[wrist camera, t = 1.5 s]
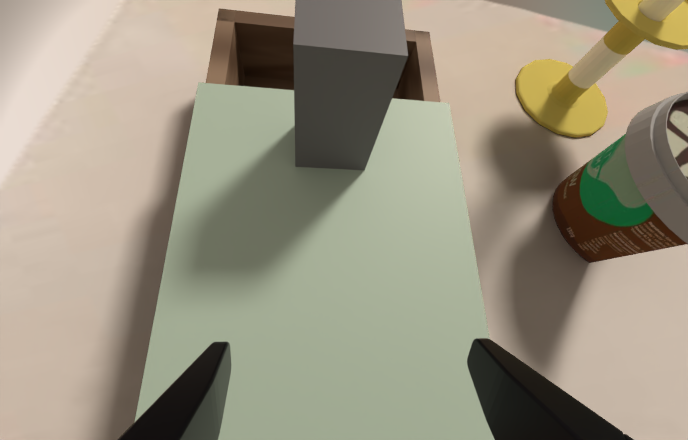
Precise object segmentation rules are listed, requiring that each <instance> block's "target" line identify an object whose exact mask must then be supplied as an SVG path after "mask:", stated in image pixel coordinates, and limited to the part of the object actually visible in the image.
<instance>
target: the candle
mask: <svg viewBox="0 0 688 440" xmlns="http://www.w3.org/2000/svg"><path fill="white" fill-rule="evenodd" d="M605 2H606V4H607V6H608V7H609V9H610V10H611V12H612V13H613V14H614V16H615V17H616V18H617V19H618V20H619V21H618V22H617V23H616V24H615V25H614V27H613V28H612V29H611V30H610V31H609V32H608V33H607V34H606V35H605V36H604V37H603V38H602V39H601V40H600V41H599V42H598V43H597V44H596V45H595V46H594V47H593V48H592V49H591V50H590V51H589V52H588V53H587V54H586V55H585V56H584V57H583V58H582V59H581V60H580V61H579V62H578V63H577V64H576V65H575V66H574V67H573V66H571V65H569V64H567V63H564V62H560V61H556V60H551V59H545V60H535V61H533V62H531V63H529V64H528V65H526V66H524V67H522V69H521V70H520V72H519V74H518V76H517V78H516V94H517V96H518V98H519V100H520V102H521V104H522V106H523V108H524V110H525V111H526V112H527V113H528V114H529V115H530V116H531V117H532V118H533V119H534V120H535V121H536V122H537V123H538V124H540V125H542V126H544V127H545V128H547V129H549V130H551V131H553V132H554V133H556V134H560V135H565V136H569V137H574V138H576V137H583V136H590V135H592V134H593V133H595V132H596V131H597V130H599V129H600V128H601V127H603V125H604V123H605V120H606V117H607V113H608V111H607V106H606V101H605V97H604V96H603V94H602V93H601V91H600V90H599V88H598V86H597V85H596V82H597V81H598V80H599V79H600V78H601V77H602V76H604V75H605V74H606V73H607V72H608V71H609V70H610V69H612V68H613V67H614V66H615V65H616V64H617V63H618V62H619V61H621V60H622V59H623V58H624V57H625V56H626V55H627V54H629V53H630V52H631V51H632V50H633V49H634V48H635V47H636V46H638V45H639V44H640V43H641V42H642V41H643V40H644V39H646V40H648V41H650V42H652V43H654V44H655V45H659V46H663V47H668V48H672V49H676V50H678V49H688V0H605Z"/></svg>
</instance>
